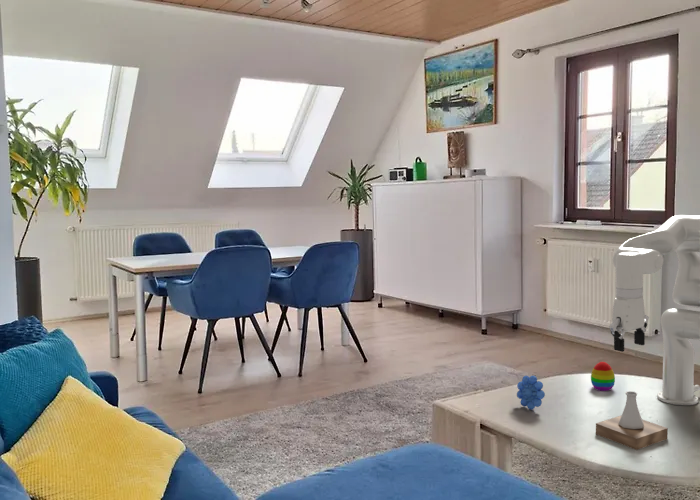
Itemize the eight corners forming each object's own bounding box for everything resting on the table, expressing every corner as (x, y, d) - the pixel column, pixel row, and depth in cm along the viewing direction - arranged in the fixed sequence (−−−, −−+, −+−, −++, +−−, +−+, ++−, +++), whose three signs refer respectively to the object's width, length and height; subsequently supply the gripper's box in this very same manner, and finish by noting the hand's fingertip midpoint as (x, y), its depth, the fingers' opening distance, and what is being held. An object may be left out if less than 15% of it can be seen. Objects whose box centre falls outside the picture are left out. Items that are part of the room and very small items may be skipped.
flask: (647, 430, 189) (647, 397, 188) (621, 429, 191) (621, 396, 190) (640, 421, 196) (641, 389, 195) (615, 420, 198) (615, 388, 197)
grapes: (553, 411, 216) (553, 376, 215) (538, 416, 212) (539, 380, 211) (526, 402, 226) (526, 368, 225) (512, 406, 222) (512, 371, 221)
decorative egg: (598, 383, 243) (598, 357, 242) (619, 388, 237) (619, 361, 236) (586, 388, 238) (586, 362, 237) (607, 393, 232) (607, 366, 231)
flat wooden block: (626, 426, 203) (626, 413, 203) (667, 441, 191) (667, 428, 191) (595, 436, 197) (595, 423, 196) (636, 452, 184) (636, 438, 184)
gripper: (636, 287, 205) (636, 339, 208) (600, 295, 197) (600, 350, 199) (658, 290, 199) (658, 344, 201) (621, 299, 190) (622, 355, 193)
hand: (629, 347), depth 200 cm, fingers open, 9 cm apart
